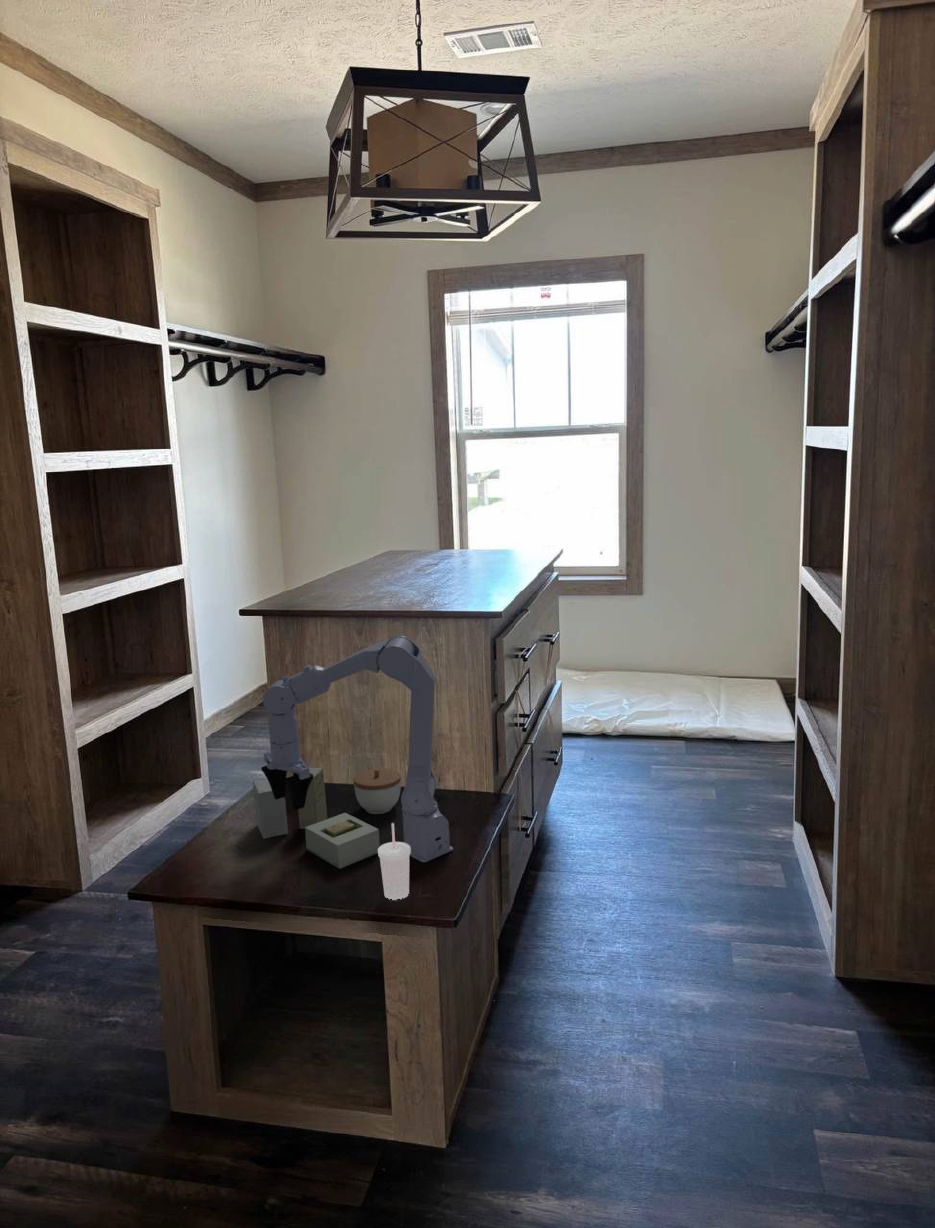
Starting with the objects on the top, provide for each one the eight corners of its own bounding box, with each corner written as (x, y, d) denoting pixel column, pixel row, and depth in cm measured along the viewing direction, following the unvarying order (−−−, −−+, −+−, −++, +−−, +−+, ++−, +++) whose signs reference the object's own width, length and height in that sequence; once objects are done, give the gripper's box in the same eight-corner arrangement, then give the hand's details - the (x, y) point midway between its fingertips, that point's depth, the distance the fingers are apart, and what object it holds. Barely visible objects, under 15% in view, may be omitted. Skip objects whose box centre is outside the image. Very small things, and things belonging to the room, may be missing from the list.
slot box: (380, 852, 184) (378, 829, 183) (339, 869, 177) (337, 845, 176) (346, 834, 193) (345, 812, 192) (306, 849, 186) (304, 827, 185)
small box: (288, 834, 194) (284, 788, 192) (262, 839, 192) (258, 793, 190) (281, 820, 201) (278, 776, 199) (256, 825, 199) (252, 780, 197)
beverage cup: (400, 882, 171) (396, 813, 168) (419, 894, 166) (416, 823, 164) (373, 893, 167) (369, 823, 164) (393, 905, 163) (388, 834, 160)
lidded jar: (356, 800, 210) (354, 762, 209) (402, 798, 211) (400, 760, 209) (353, 819, 200) (351, 780, 198) (402, 817, 200) (399, 777, 199)
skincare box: (317, 830, 195) (313, 777, 193) (298, 829, 196) (294, 777, 194) (328, 818, 201) (324, 767, 199) (309, 817, 202) (305, 766, 200)
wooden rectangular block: (355, 847, 185) (354, 824, 184) (336, 855, 182) (334, 832, 181) (347, 843, 187) (345, 820, 186) (327, 851, 184) (325, 828, 183)
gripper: (248, 736, 184) (254, 799, 187) (285, 753, 174) (290, 819, 176) (279, 728, 189) (284, 789, 192) (316, 744, 178) (321, 808, 181)
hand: (289, 803), depth 184 cm, fingers open, 7 cm apart
